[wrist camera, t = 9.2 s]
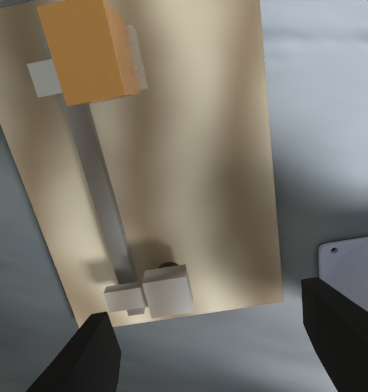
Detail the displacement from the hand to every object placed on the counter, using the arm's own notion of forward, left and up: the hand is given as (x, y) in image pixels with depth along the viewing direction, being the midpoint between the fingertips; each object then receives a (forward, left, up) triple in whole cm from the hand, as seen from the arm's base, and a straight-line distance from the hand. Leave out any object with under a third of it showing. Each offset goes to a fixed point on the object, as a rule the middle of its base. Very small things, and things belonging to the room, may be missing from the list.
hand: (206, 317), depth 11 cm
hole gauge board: (+3, -3, -10) cm, 11 cm away
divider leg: (+4, -10, -9) cm, 14 cm away
